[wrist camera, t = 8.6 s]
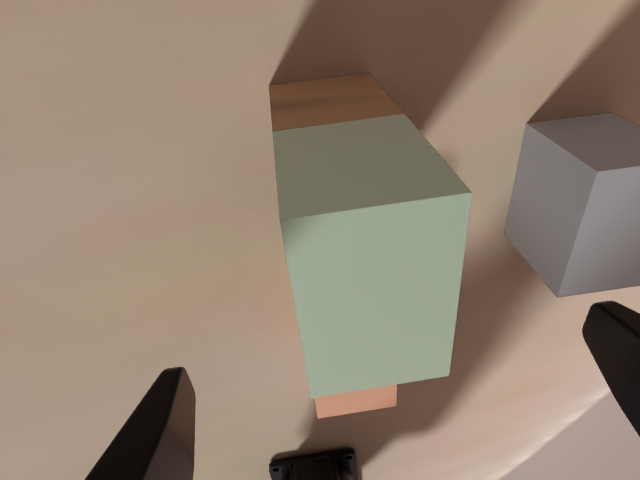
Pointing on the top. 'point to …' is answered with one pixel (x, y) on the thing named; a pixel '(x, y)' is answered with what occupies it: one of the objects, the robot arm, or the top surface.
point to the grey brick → (579, 203)
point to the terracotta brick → (356, 401)
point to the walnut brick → (328, 101)
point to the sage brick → (371, 251)
